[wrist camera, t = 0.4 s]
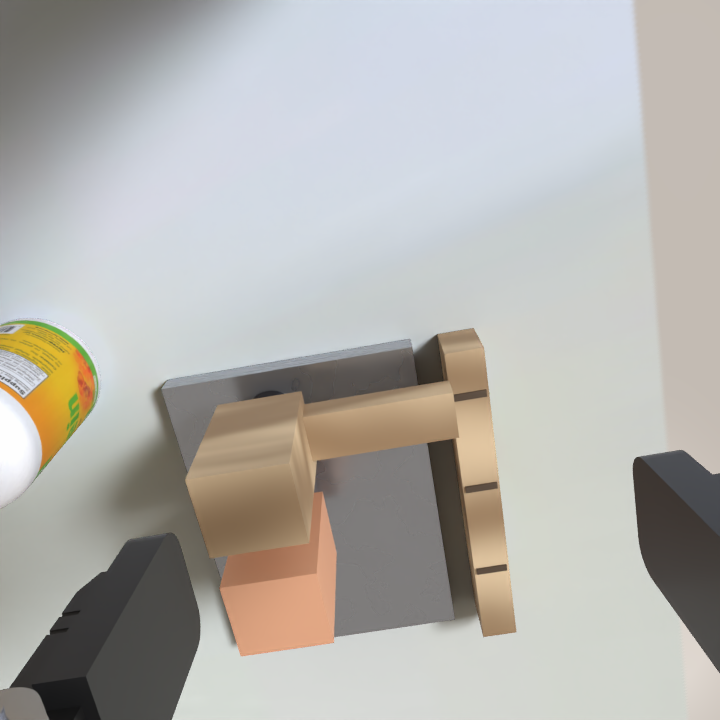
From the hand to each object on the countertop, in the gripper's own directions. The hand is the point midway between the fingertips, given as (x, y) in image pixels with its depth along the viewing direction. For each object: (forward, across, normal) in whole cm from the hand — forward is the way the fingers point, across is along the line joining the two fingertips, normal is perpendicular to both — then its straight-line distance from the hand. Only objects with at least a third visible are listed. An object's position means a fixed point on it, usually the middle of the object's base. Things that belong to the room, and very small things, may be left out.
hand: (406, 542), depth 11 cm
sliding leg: (+17, +5, +7) cm, 20 cm away
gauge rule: (+19, +2, +8) cm, 21 cm away
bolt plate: (+19, +4, +8) cm, 21 cm away
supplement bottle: (+18, +15, -1) cm, 24 cm away
